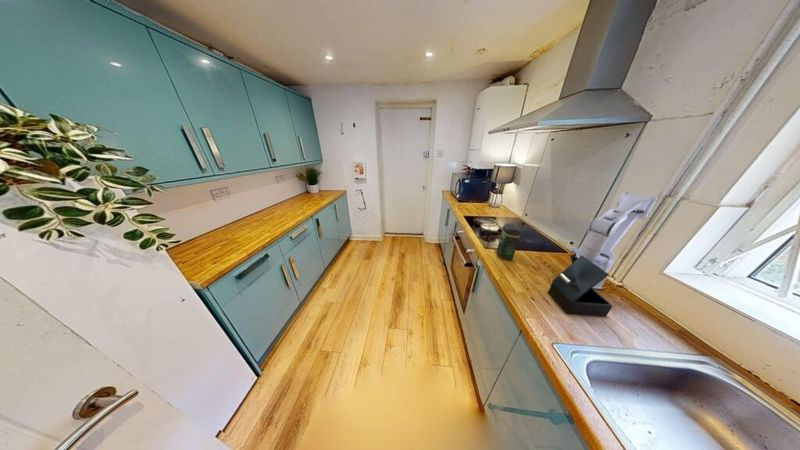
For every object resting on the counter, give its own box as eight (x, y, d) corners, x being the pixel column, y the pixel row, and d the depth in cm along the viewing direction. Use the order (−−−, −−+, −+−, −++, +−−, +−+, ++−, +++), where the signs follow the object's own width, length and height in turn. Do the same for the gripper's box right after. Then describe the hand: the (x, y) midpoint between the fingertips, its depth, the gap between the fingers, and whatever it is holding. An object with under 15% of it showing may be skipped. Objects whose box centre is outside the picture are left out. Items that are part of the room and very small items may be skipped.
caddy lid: (583, 255, 77) (574, 250, 76) (609, 274, 66) (599, 268, 66) (553, 281, 83) (544, 277, 82) (573, 302, 72) (563, 297, 72)
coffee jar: (514, 261, 106) (524, 230, 99) (499, 259, 108) (507, 228, 100) (509, 251, 115) (517, 222, 107) (494, 250, 116) (502, 221, 108)
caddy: (582, 294, 85) (587, 284, 82) (605, 316, 74) (612, 305, 72) (547, 292, 85) (552, 282, 83) (566, 314, 75) (572, 303, 72)
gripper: (568, 238, 85) (557, 264, 90) (597, 256, 71) (581, 286, 77) (586, 239, 84) (573, 265, 90) (617, 258, 71) (600, 287, 77)
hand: (578, 274), depth 83 cm, fingers closed on scrap block, 4 cm apart
